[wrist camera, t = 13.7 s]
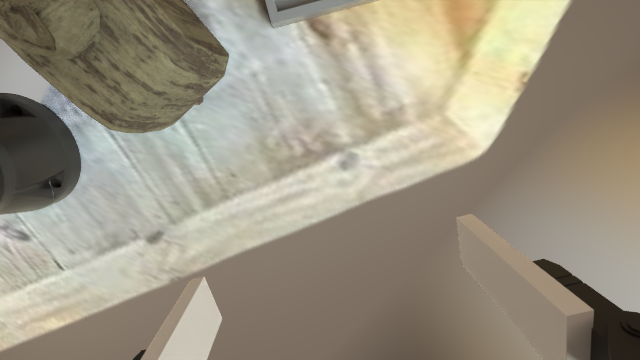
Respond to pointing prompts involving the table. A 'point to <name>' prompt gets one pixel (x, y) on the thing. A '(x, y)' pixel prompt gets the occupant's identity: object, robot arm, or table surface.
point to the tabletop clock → (118, 56)
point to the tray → (305, 9)
